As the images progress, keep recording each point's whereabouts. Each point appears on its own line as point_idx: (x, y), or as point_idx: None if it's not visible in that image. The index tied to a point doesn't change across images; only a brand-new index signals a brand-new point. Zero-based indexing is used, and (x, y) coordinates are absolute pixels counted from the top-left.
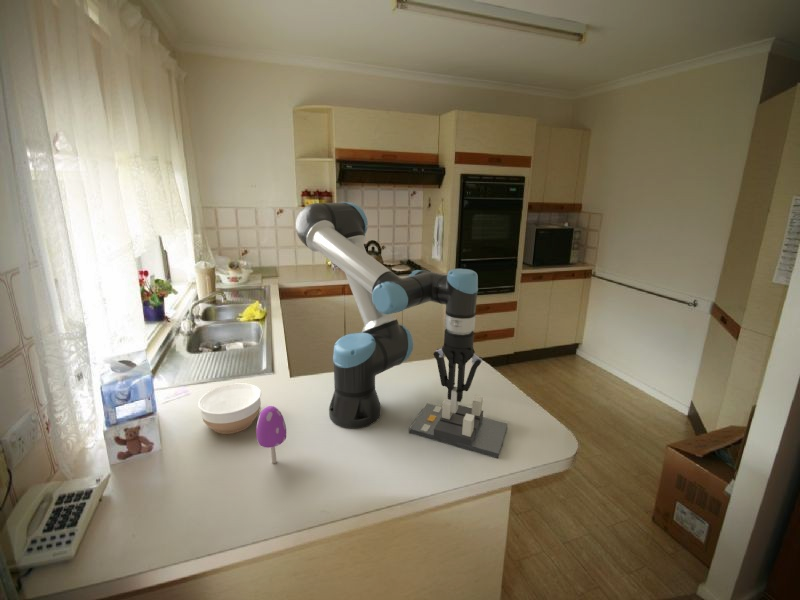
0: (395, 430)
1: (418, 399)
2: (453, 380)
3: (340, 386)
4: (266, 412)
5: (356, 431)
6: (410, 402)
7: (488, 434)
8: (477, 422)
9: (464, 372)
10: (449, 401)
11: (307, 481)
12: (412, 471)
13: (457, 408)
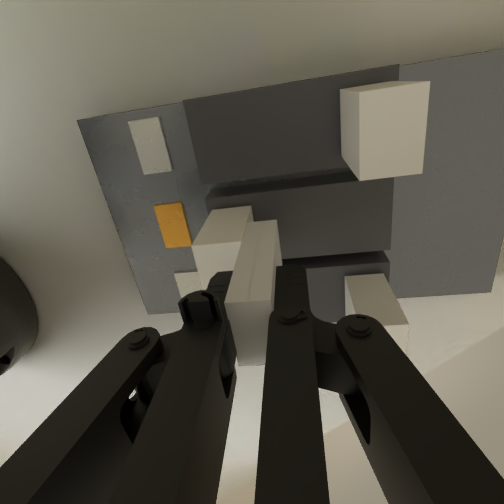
0: (113, 309)
1: (8, 68)
2: (220, 405)
3: None
4: None
5: (39, 357)
6: (7, 121)
7: (438, 203)
8: (387, 201)
9: (328, 491)
10: (229, 270)
11: None
12: (256, 409)
13: (278, 236)
